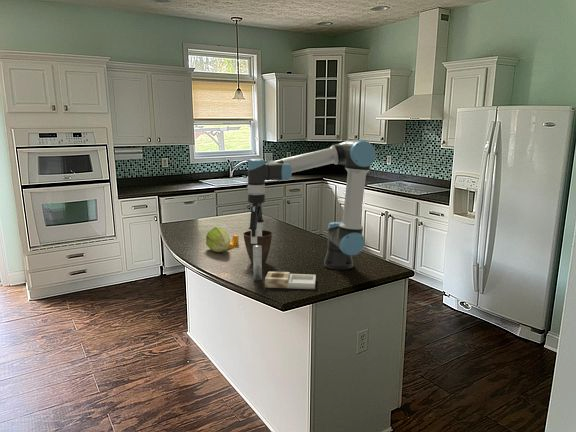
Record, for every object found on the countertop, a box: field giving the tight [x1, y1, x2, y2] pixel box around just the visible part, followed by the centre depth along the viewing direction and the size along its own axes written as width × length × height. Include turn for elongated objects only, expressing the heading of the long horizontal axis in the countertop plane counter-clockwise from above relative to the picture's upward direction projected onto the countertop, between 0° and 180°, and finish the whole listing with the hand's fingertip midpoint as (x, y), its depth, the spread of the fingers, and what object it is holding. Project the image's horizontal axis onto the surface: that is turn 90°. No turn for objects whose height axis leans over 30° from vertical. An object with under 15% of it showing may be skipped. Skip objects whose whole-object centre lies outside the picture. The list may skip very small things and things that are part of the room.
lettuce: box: [205, 226, 231, 253], centre depth 240 cm, size 13×22×14 cm, turn 27°
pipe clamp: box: [227, 234, 240, 250], centre depth 252 cm, size 12×4×6 cm, turn 141°
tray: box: [287, 273, 317, 290], centre depth 193 cm, size 12×12×2 cm
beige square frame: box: [264, 271, 291, 289], centre depth 193 cm, size 10×10×4 cm
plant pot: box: [243, 229, 273, 265], centre depth 222 cm, size 15×15×16 cm
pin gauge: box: [252, 245, 263, 282], centre depth 198 cm, size 4×4×16 cm
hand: (256, 239), depth 195 cm, fingers open, 13 cm apart
